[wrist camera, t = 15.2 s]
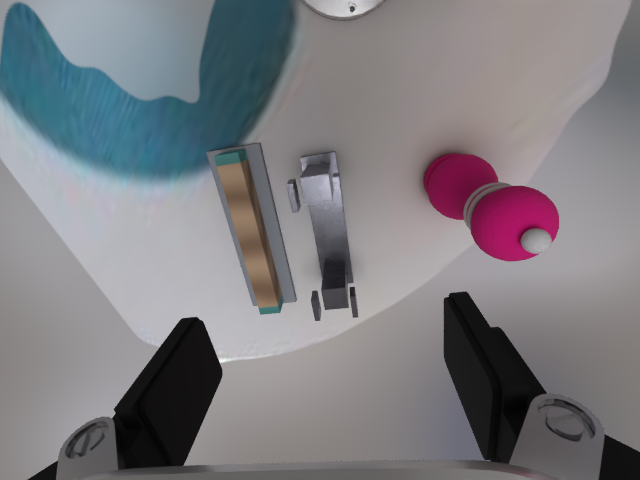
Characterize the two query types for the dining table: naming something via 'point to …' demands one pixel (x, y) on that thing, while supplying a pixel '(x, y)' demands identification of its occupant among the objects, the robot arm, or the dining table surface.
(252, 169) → the mat
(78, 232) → the dining table surface
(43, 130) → the dining table surface
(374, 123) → the dining table surface
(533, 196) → the pepper mill
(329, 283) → the bracket
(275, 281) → the rail
